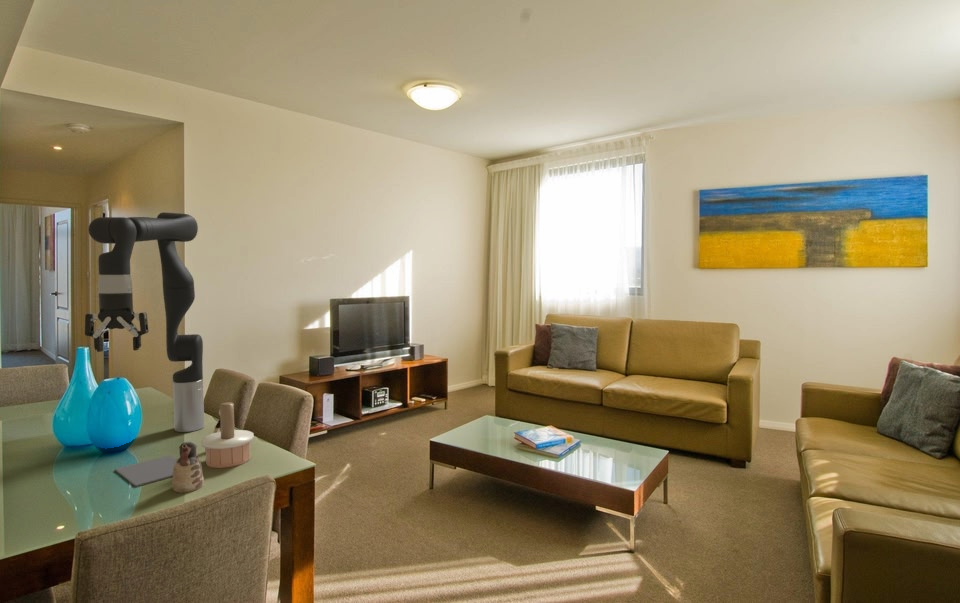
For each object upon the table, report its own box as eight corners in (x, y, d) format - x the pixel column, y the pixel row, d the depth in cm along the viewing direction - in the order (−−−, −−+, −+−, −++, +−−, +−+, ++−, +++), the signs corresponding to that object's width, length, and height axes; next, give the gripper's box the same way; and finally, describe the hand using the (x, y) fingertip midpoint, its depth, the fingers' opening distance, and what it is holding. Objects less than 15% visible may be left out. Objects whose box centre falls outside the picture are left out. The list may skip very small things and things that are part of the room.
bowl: (199, 461, 153) (198, 441, 153) (238, 450, 162) (238, 431, 162) (217, 471, 146) (216, 450, 145) (257, 459, 155) (256, 440, 154)
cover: (192, 441, 153) (191, 404, 152) (240, 430, 163) (239, 395, 163) (213, 452, 144) (212, 413, 143) (262, 440, 154) (261, 403, 153)
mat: (115, 470, 146) (114, 468, 146) (169, 456, 157) (169, 455, 157) (135, 487, 135) (135, 485, 135) (193, 471, 146) (193, 469, 146)
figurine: (208, 480, 139) (207, 436, 139) (197, 492, 132) (195, 446, 132) (179, 482, 139) (178, 437, 138) (167, 493, 132) (165, 447, 131)
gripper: (150, 290, 147) (152, 347, 148) (91, 291, 143) (93, 349, 144) (140, 292, 140) (143, 352, 141) (78, 292, 136) (81, 354, 137)
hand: (118, 350), depth 142 cm, fingers open, 8 cm apart
